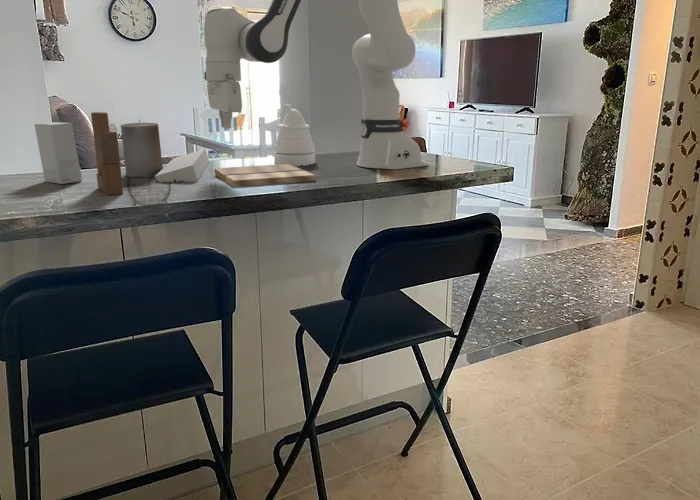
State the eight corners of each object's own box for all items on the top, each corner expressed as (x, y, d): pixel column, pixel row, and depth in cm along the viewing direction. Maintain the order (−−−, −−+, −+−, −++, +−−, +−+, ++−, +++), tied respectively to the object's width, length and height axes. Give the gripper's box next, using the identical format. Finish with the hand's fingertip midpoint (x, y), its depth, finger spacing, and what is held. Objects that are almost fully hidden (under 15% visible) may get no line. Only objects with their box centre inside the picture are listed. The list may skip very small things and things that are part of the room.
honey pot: (276, 166, 177) (274, 105, 172) (272, 160, 189) (271, 103, 184) (317, 165, 180) (317, 105, 174) (311, 159, 192) (311, 103, 186)
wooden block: (107, 195, 132) (97, 114, 126) (97, 188, 140) (88, 112, 135) (123, 194, 133) (115, 114, 128) (113, 186, 142) (105, 111, 137)
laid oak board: (304, 176, 160) (304, 170, 159) (315, 180, 153) (315, 174, 152) (225, 181, 150) (225, 175, 150) (233, 186, 143) (233, 180, 143)
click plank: (289, 169, 169) (289, 163, 169) (302, 175, 161) (302, 169, 160) (214, 174, 160) (214, 168, 159) (224, 180, 151) (223, 174, 151)
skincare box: (82, 181, 148) (75, 122, 144) (59, 185, 143) (51, 124, 139) (64, 178, 153) (57, 120, 148) (42, 181, 148) (33, 122, 144)
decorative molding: (161, 193, 150) (198, 182, 151) (154, 176, 148) (192, 165, 149) (179, 172, 182) (210, 163, 183) (173, 158, 181) (204, 149, 181)
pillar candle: (155, 170, 166) (150, 117, 162) (168, 175, 159) (163, 119, 154) (121, 174, 160) (114, 119, 156) (133, 179, 153) (126, 121, 149)
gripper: (247, 74, 143) (249, 131, 147) (225, 74, 161) (227, 124, 165) (221, 74, 140) (224, 131, 144) (202, 73, 158) (205, 125, 162)
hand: (226, 128), depth 155 cm, fingers closed
